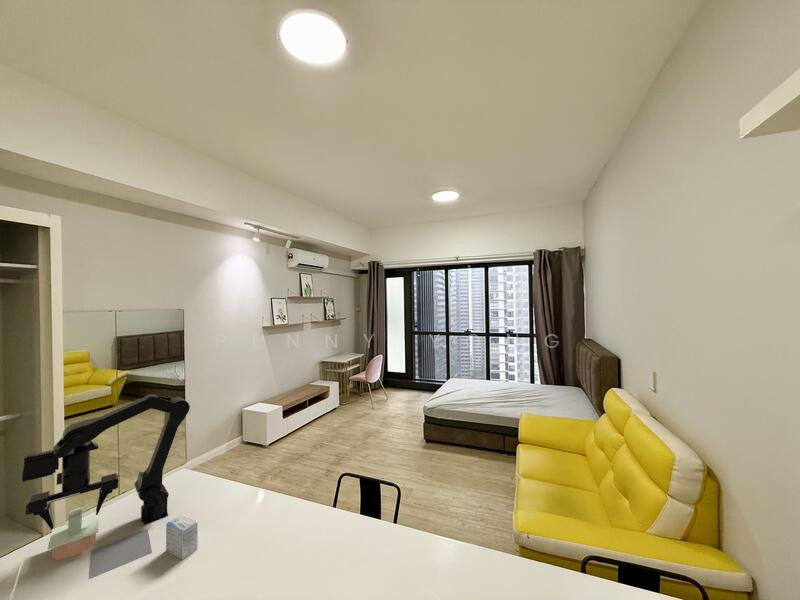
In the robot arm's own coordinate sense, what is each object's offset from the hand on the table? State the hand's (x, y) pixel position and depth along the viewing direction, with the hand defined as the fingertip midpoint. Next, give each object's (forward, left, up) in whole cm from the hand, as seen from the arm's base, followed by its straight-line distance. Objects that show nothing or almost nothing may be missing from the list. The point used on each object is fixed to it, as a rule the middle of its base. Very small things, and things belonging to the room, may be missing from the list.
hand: (75, 521), depth 94 cm
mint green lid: (0, 0, -3) cm, 3 cm away
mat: (-10, +12, -8) cm, 17 cm away
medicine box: (-23, +23, -8) cm, 33 cm away
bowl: (0, 0, -8) cm, 8 cm away
